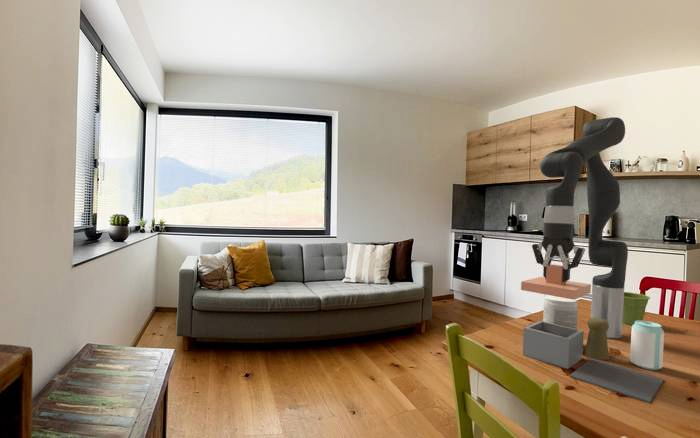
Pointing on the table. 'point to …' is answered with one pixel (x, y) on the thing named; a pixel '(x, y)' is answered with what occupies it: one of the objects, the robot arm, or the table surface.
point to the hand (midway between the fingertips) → (555, 280)
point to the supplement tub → (560, 311)
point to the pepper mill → (597, 339)
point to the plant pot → (634, 307)
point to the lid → (556, 285)
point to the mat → (619, 379)
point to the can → (647, 345)
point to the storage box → (553, 343)
